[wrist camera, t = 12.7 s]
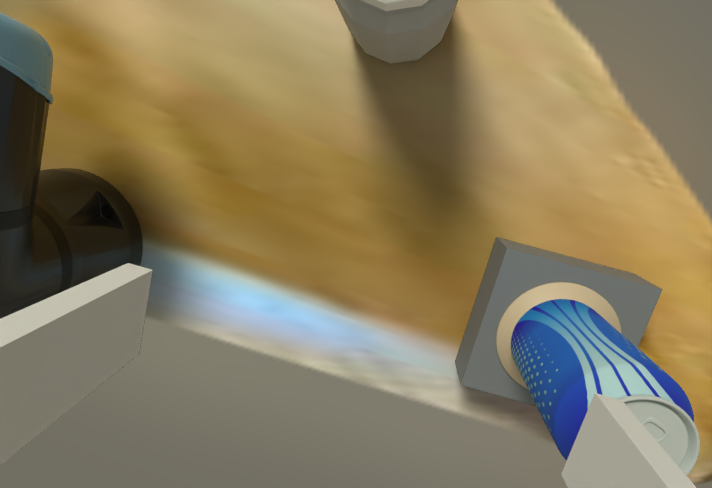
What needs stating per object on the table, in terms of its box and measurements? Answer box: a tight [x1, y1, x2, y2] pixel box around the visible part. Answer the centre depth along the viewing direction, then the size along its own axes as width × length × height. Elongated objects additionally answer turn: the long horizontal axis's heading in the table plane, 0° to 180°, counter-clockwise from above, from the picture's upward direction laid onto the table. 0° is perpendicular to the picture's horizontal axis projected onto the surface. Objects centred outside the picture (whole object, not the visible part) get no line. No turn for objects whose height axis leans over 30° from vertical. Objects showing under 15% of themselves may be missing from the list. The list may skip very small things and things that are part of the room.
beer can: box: [511, 299, 700, 476], centre depth 35 cm, size 8×8×16 cm
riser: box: [455, 237, 662, 406], centre depth 46 cm, size 14×14×5 cm
